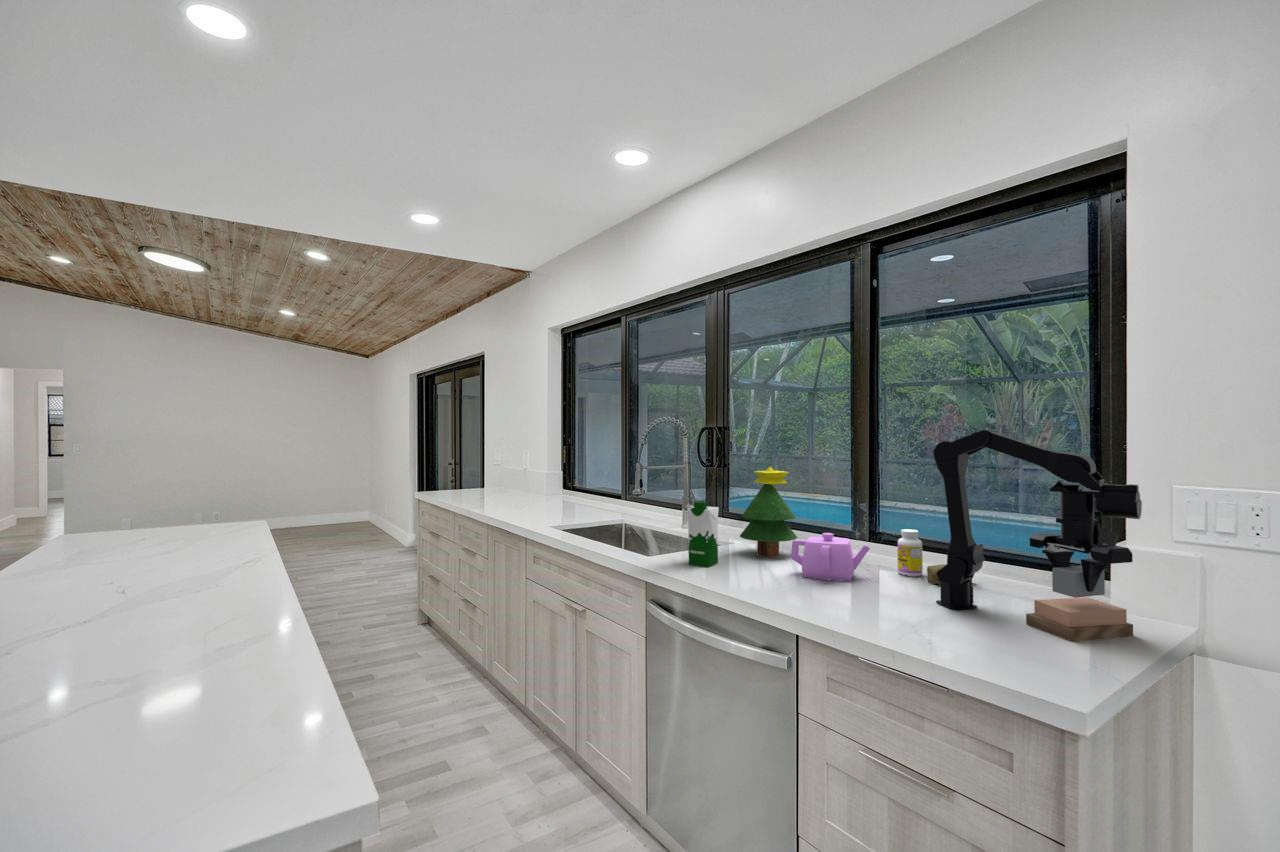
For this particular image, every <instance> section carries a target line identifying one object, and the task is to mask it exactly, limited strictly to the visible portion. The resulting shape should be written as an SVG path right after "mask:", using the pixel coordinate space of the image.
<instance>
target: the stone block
mask: <svg viewBox="0 0 1280 852" xmlns="http://www.w3.org/2000/svg"><path fill="white" fill-rule="evenodd" d="M946 565H947V563H946V564H936V565H935V564H934V565H928V566H927V568H926V569H927V570H926V572H927V574H926V576H927V577H926V578H927V582H928V583H929V584H932V585H938V586H941V584H940V581H939V579H938V576H937V572H938V571H939V570H940V569H942V568H943V567H944V566H946ZM969 580H971V581H972V582H973V578H972V579H969Z"/></svg>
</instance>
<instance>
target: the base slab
mask: <svg viewBox="0 0 1280 852" xmlns="http://www.w3.org/2000/svg"><path fill="white" fill-rule="evenodd" d="M1025 625H1026V626H1029V627H1032V628H1034V629H1037V630H1040V631H1042V632H1045V633H1048V634H1050V635H1052V636H1056V637H1058V638H1060V639H1063V640H1066V641H1068V642H1072V643H1078V642H1079V643H1080V642H1087V641H1097V639H1099V640H1107V638H1109V639H1116V637H1119V638H1127V637H1128V636H1130V637H1134V624H1132V623H1129V622H1127V624H1120V625H1101V626H1082V627H1067V626H1065V625H1062V624H1060V623H1057V622H1054V621H1052V620H1049V619H1047V618H1044V617H1042V616H1039V615H1036V614H1035V612H1032V613H1031V612H1030V613H1029V612H1028V613H1025ZM1128 638H1129V637H1128Z"/></svg>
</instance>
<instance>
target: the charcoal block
mask: <svg viewBox="0 0 1280 852" xmlns="http://www.w3.org/2000/svg"><path fill="white" fill-rule="evenodd" d="M1051 571H1052V575H1051V576H1052V578H1051V579H1052V580H1051V581H1052V583H1051V584H1052V592H1054V593H1056V594H1061V595H1065V596H1068V597H1070V598H1087V597H1096V596H1103V595H1105V591H1106V589H1105V586H1106V584H1105V583H1106V582H1105V581H1106V580H1105V577H1106V575H1105V569H1104V570H1103V572H1102V573H1101V575H1100V577H1099V579H1098V582H1097V584H1096V586H1095V588H1094V590H1093V592H1088V591H1087V588H1086V585H1085V580H1084V575H1083V569H1082V564H1081V565H1080V564H1079V565H1070V566H1068V567H1057V568H1054V567H1052V570H1051Z"/></svg>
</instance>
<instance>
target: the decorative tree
mask: <svg viewBox="0 0 1280 852" xmlns="http://www.w3.org/2000/svg"><path fill="white" fill-rule="evenodd" d="M753 473H754V474H755V475H756V476H757V478H756V479H754V481H753V483H757V484H763V485H762V486H761V487H760V489H759V491H758V492H757V493H756V495H755V496H754V497H753V499H752V501H751V502H750V503H749V505H748V506H747V508H746V509H745V511H744V512H743V513H742V515H741V517H742V518H744V519H746V520H747V519H748V520H751V521H750V522H749V523H748V524H747V526H746V527H745V528H744V529H743V530H742V532H741V533H740V534H739V537H740V538H741V539H744V540H749V541H755V542H756V541H757V556H761V557H766V558H767V557H768V558H769V557H770V558H771V557H779V556H780V542H789V541H790V542H791V541H793V540H798V536H797V535H796V533H795V532H794V531H793V530H792V529H791V527H790V525H788V523H787V522H786V521H789V520H795V519H796V516H795V514H794V512H793V511H792V509H791V508H790V507H789V506H788V504H787V503H786V501H785V500H784V498H783V497H782V496H781V494H780V493H779V492H778V490H777V488H776V487H775V485H776V484H788V482H787V481H786V480H785V479H784V477H786V476H787V475H788V474H789V473H790V472H789V471H781V470H775V469H774V468H773V467H772V466H769V467H768V468H767V469H766V470H755V471H753Z"/></svg>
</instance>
